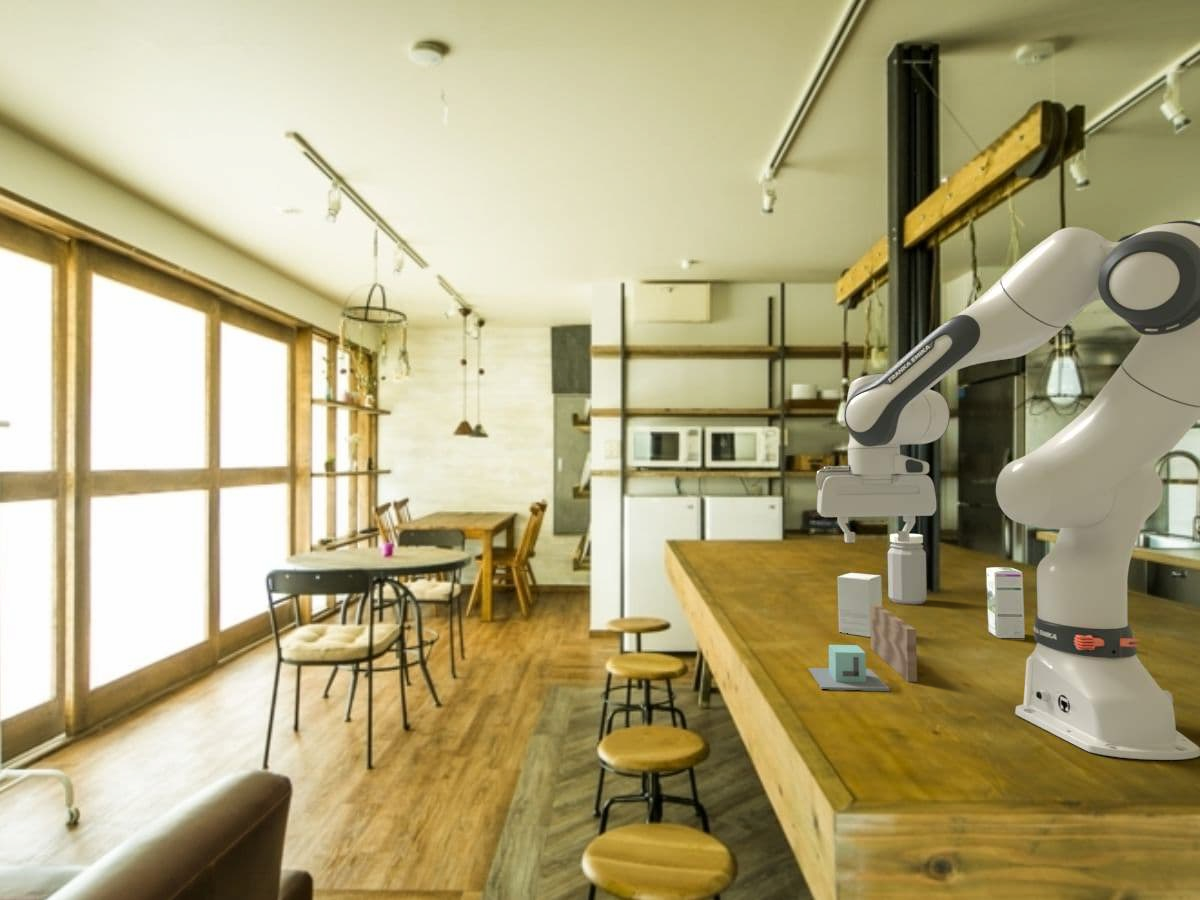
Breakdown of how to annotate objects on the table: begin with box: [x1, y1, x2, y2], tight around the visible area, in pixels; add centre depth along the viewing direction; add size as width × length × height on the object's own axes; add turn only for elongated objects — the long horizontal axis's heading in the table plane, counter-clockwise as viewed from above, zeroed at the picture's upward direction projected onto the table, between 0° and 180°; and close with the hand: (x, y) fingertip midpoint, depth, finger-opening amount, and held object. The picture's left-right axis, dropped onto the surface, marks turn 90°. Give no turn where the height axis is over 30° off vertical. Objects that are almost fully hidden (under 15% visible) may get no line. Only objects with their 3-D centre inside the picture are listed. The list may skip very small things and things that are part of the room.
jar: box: [887, 533, 928, 605], centre depth 192 cm, size 10×10×18 cm
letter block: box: [828, 644, 867, 682], centre depth 123 cm, size 5×5×5 cm
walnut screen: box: [870, 604, 918, 683], centre depth 133 cm, size 22×2×9 cm, turn 175°
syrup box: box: [985, 566, 1026, 639], centre depth 154 cm, size 6×6×14 cm
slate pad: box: [807, 667, 891, 692], centre depth 123 cm, size 11×11×1 cm
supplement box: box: [836, 572, 883, 638], centre depth 158 cm, size 7×7×13 cm
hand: (876, 541), depth 127 cm, fingers open, 8 cm apart
